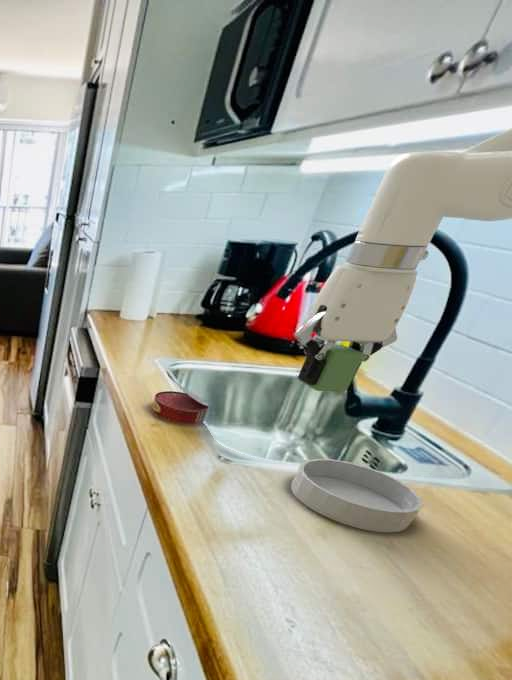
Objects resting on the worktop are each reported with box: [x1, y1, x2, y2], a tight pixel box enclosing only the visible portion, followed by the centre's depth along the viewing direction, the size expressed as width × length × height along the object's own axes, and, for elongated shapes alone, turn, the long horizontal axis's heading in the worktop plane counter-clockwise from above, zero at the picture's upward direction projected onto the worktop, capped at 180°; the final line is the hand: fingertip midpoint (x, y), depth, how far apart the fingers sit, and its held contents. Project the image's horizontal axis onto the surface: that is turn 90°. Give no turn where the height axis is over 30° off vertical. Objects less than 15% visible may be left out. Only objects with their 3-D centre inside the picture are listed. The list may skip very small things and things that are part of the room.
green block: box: [297, 343, 365, 393], centre depth 73 cm, size 4×4×6 cm
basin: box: [290, 458, 424, 533], centre depth 71 cm, size 14×14×4 cm
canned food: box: [150, 370, 210, 426], centre depth 97 cm, size 11×10×10 cm
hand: (323, 381), depth 75 cm, fingers closed on green block, 4 cm apart
